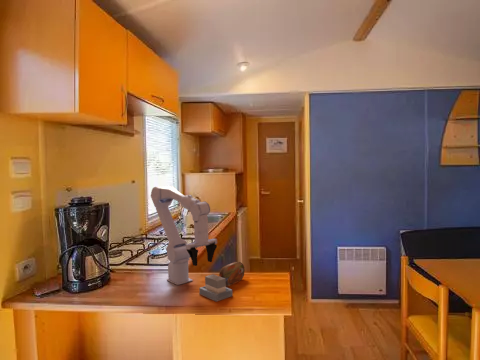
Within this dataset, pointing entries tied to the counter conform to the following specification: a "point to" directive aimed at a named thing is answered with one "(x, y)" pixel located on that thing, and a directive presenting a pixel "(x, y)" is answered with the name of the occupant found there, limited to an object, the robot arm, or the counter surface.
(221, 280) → the block
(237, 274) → the tin
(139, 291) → the counter surface
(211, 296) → the grey rectangular tray
